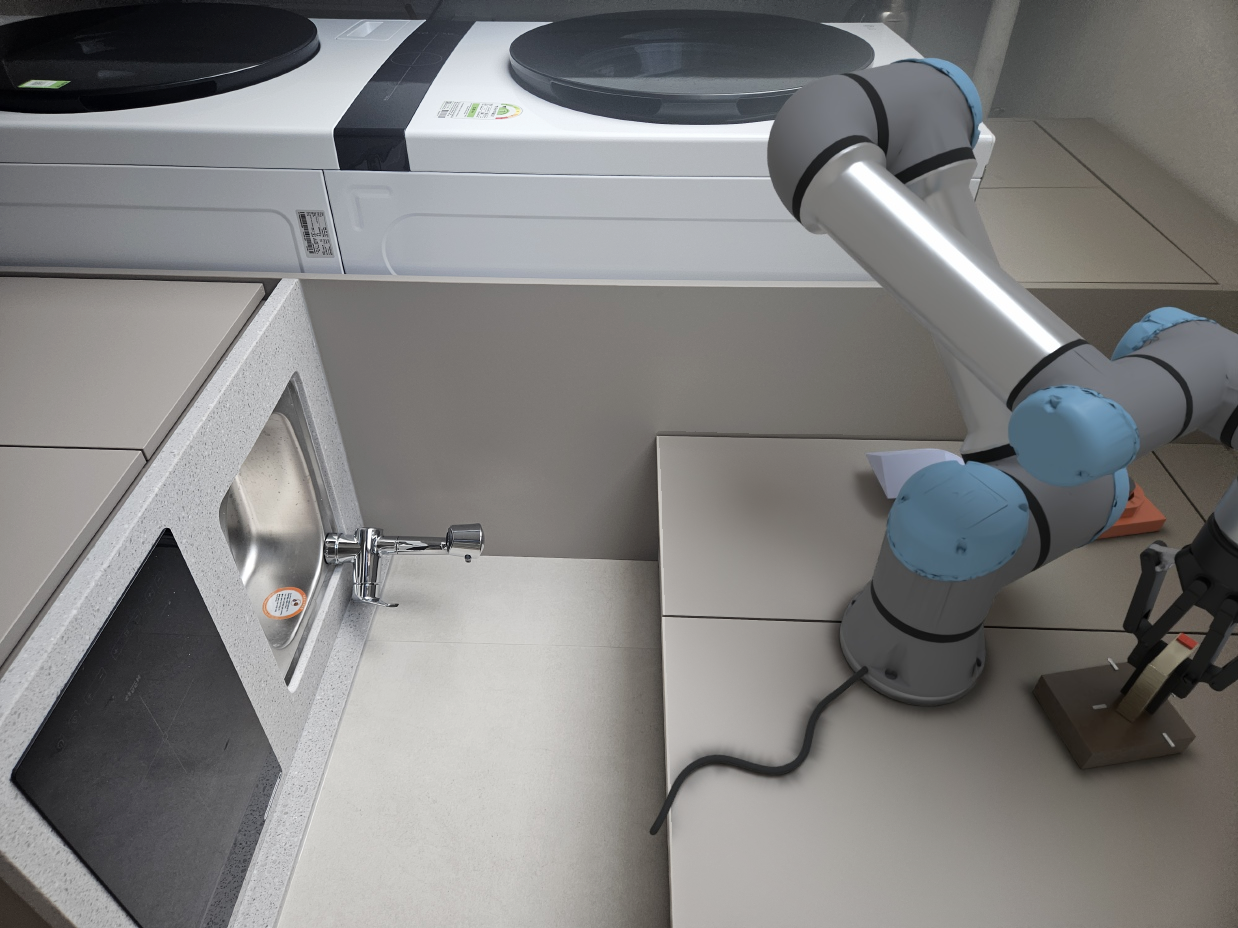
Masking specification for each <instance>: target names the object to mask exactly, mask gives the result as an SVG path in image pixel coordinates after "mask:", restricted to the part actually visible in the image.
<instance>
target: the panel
mask: <svg viewBox="0 0 1238 928" xmlns="http://www.w3.org/2000/svg"><path fill="white" fill-rule="evenodd" d="M1106 660H1107V662H1108V663H1109V664H1104V665H1098V666H1091V667H1090V666H1089V667H1084V668H1078V669H1071V670H1065V671H1058V672H1052V673H1044V674H1041V675H1040V676H1039V678H1038V680H1037V682H1036V683H1035V685H1034V687H1033V689H1032V693H1033V695H1034V697H1035V698H1036V699H1037V701H1038V703H1039V704H1040V706H1041V708H1042V709H1043V711H1044V713H1045V715H1046V716H1047V717H1048V719H1049V720H1050V722H1051V724H1052V725H1053V727H1054V728H1055V730H1056V732H1057V734H1058V735H1059V736H1060V738H1061V741H1063V743H1064V745H1065V746H1066V748H1067V749H1068V751H1069V752H1070V754H1071V756H1072V758H1073V759H1074V760H1075V762H1076V763H1077V765H1078V767H1079V768H1080V770H1086V769H1091V768H1093V769H1094V768H1097V767H1104V766H1110V765H1117V764H1121V763H1127V762H1134V761H1139V760H1145V759H1152V758H1157V757H1164V756H1169V755H1176V754H1181V753H1182V754H1183V753H1184V751H1185V750H1186V749H1188V747H1189V746H1190V745H1191V744H1192V743H1193V741H1194V740H1195V739H1196V738H1197V735H1196V734H1195V733H1194V731H1193V730H1192V729H1191V727H1190V726H1189V725H1188V724H1187V722H1186V721H1185V720H1184V718H1183V717H1182V716H1181V715H1180V713H1179V712H1178V710H1177V709H1176V708H1175V707H1174V705H1173V704H1172V703H1171V701H1170V700H1169V698H1168V699H1167V700H1166V701H1165V702H1164V703H1163V704H1162V706H1161V707H1160V708H1159V709H1158V710H1157V711H1156V712H1155V713H1154V714H1153V715H1151V714H1150V713H1149V712H1147V711H1146V710H1145V711H1144V712H1143V713H1142V714H1141V715H1140V716H1139V717H1138V718H1137V719H1136V720H1135V721H1134V722H1131V721H1129V720H1128V719H1127V718H1125V717H1124V716H1122V715H1121V714H1120V713H1118V712H1117V711H1116V708H1117V707H1118V705H1119V704H1120V703H1121V701H1122V700H1123V698H1124V697H1125V695H1124V694H1122V693H1121V692H1120V690H1121V689H1122V688H1123V686H1124V685H1125V683H1126V682H1127V681H1128V679H1129V678H1130V676H1131V675H1132V674H1133V672H1134V671H1135V669H1136V668H1135V667H1133V666H1132V665H1130V664H1129V663H1127V661H1123V662H1117V663H1115V662H1114V661H1113V659H1112V658H1111V657H1109V658H1108V657H1107V659H1106ZM1171 696H1172V697H1173V698H1178V697H1177V696H1175V695H1174V694H1173V693H1172V694H1171Z"/></svg>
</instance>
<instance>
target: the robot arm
mask: <svg viewBox="0 0 1238 928" xmlns="http://www.w3.org/2000/svg"><path fill="white" fill-rule="evenodd" d="M982 123H983V105H982V101H981V98H980V95H979V92H978V90H977V88H976V86H975V84H974V82H973V81H972V79H971V78H970V76H968V74H967V73H966V72H965V71H964V70H962V68H960V67H959V66H958V65H957V64H954V63H952V62H951V61H948V60H944V59H942V58H937V57H925V58H915V57H909V58H904V59H899V60H896V61H892V62H890V63H889V64H884V65H879V66H875V67H869V68H865V69H860V70H855V71H850V72H844V73H840V74H831V75H827V76H821V77H819V78H817V79H814V80H812V81H810V82H807V83H806V84H804V85H803V86H802V87H800V88H798V89H797V90H796V91H795V92H794V93H793V94H792V95H791V96H790V97H788V99H787V100H786V101H785V103H784V104H783V105H782V107H781V108H780V109H779V111H778V112H777V114H776V116H775V118H774V120H773V123H772V125H771V128H770V131H769V135H768V139H767V147H766V161H767V168H768V169H767V170H768V174H769V178H770V181H771V184H772V187H773V189H774V191H775V193H776V195H777V196H778V198H779V200H780V202H781V203H782V205H783V206H784V207H785V209H786V210H787V211H788V213H789V214H790V215H791V216H792V217H793V218H794V220H795V221H797V223H799V224H800V225H801V226H802V227H803V228H804V229H805V230H806V231H808V232H809V233H810V234H813V235H827V236H828V237H830V238H831V239H832V241H834V242H835V244H837V245H838V246H839V247H840V248H841V249H842V250H843V251H844V252H845V253H846V254H847V255H848V256H849V257H850V258H851V259H852V260H853V261H854V262H855V263H856V264H858V266H860V267H861V269H863V270H864V271H865V272H866V273H867V274H868V275H869V276H870V277H871V278H872V279H873V280H874V281H875V282H876V283H877V284H878V285H879V286H880V287H881V288H882V289H883V290H884V291H885V292H886V293H887V294H889V296H891V298H893V299H894V300H895V301H896V302H897V303H898V304H899V305H900V306H901V307H902V308H903V309H904V310H905V311H906V312H907V313H908V314H909V315H910V316H911V317H913V319H915V320H916V321H917V322H918V323H919V324H920V325H921V326H922V328H924V329H925V330H926V331H927V332H928V333H929V335H930V338H931V340H932V342H933V345H934V347H935V350H936V353H937V355H938V358H939V361H940V363H941V366H942V368H943V371H944V373H945V375H946V378H947V380H948V383H949V386H950V389H951V391H952V394H953V396H954V398H955V401H956V403H957V405H958V409H959V411H960V414H961V417H962V419H963V421H964V424H965V427H966V430H967V431H966V436H965V438H964V440H963V442H962V444H961V446H960V448H959V453H960V455H961V458H962V459H963V461H964V464H965V465H961V464H960V463H959V462H958V461H957V460H950V461H943V462H939V463H935V464H931V465H929V466H926V467H924V468H922V469H921V470H919V471H917V472H916V473H914V474H913V475H912V476H911V477H910V478H909V479H908V480H907V481H906V482H905V483H904V485H903V486H902V488H901V490H900V491H899V494H898V496H897V498H895V499H894V502H893V503H892V506H891V508H890V510H889V511H888V516H887V521H886V526H885V527H886V529H885V533H884V536H883V539H882V541H881V542H882V543H881V545H880V550H879V553H878V557H877V559H876V562H875V563H876V564H875V567H874V571H873V574H872V576H871V577H872V578H871V580H869V582H868V583H866V584H865V586H864V587H863V588H862V590H861V591H859V592H858V593H857V594H856V595H855V596H854V597H853V598H852V599H851V600H850V602H849V604H848V605H847V606H846V608H845V610H844V613H843V616H842V619H841V623H840V627H839V643H840V647H841V650H842V654H843V656H844V658H845V660H846V662H847V663H848V665H849V666H850V668H851V669H852V670H853V672H854V674H853V675H852V676H850V677H849V678H848V679H846V680H845V681H844V682H843V683H841V685H839V686H838V687H837V688H836V689H834V690H833V691H831V692H830V693H829V694H827V695H826V696H825V697H824V698H823V699H822V700H821V701H820V702H819V703H818V704H817V705H816V707H815V708H814V709H813V711H812V712H811V715H810V717H809V719H808V723H807V727H806V731H805V737H804V741H803V745H802V749H801V750H800V752H799V754H798V755H797V757H795V759H793V760H791V761H790V762H789V763H786V764H783V765H778V766H770V765H769V766H768V765H762V764H760V763H759V764H758V763H755V762H753V761H752V762H751V761H749V760H745V759H742V758H738V757H734V756H732V755H731V756H730V755H726V754H711V755H705V756H702V757H699V758H697V759H695V760H693V761H692V762H690V763H689V764H688V765H686V766H685V767H684V769H682V770H681V771H680V773H678V775H677V777H676V778H675V779H674V781H673V783H672V785H671V787H670V789H669V792H668V794H667V796H666V798H665V800H664V802H663V805H662V806H661V809H660V811H659V813H658V815H657V817H656V818H655V820H654V822H653V824H652V826H651V827H650V829H649V832H648V833H649V835H651V836H656V835H657V834H658V832H659V831H660V829H661V827H662V826H663V824H664V823H665V820H666V818H667V816H668V815H669V812H670V811H671V808H672V806H673V803H674V801H675V799H676V796H677V794H678V792H679V790H680V788H681V786H682V784H683V783H684V782H685V780H686V778H687V777H688V776H689V775H690V774H691V773H693V772H694V771H695V770H696V769H698V768H700V767H702V766H705V765H707V764H713V763H723V764H728V765H732V766H736V767H739V768H743V769H746V770H749V771H751V772H756V773H760V774H765V775H782V774H787V773H789V772H792V771H794V770H796V768H798V767H800V765H802V764H803V763H804V762H805V760H806V759H807V757H808V755H809V753H810V750H811V747H812V743H813V738H814V732H815V728H816V724H817V722H818V719H819V717H820V716H821V713H822V712H823V711H824V709H825V708H826V707H828V705H829V704H830V703H832V702H833V701H834V700H835V699H837V698H839V696H841V695H842V694H843V693H845V692H846V691H848V690H849V689H850V688H851V687H852V686H853V685H855V684H856V683H857V682H858V681H859V680H862V681H863V683H865V684H866V685H868V686H869V687H871V688H872V689H874V690H875V691H876V692H879V694H882V695H884V696H886V697H888V698H890V699H892V700H894V701H897V702H901V703H903V704H908V705H913V706H921V707H935V706H942V705H947V704H950V703H954V702H956V701H957V700H961V698H963V697H965V696H966V695H967V694H968V693H969V692H970V691H971V690H972V689H973V688H974V687H975V686H976V685H977V682H978V680H979V678H980V676H981V674H982V672H983V670H984V667H985V663H986V650H987V649H986V638H985V624H984V622H985V620H986V617H987V615H988V613H989V612H990V609H991V607H992V605H993V603H994V600H995V599H996V596H997V595H998V594H999V593H1000V592H1001V591H1002V590H1003V589H1004V588H1006V587H1008V586H1009V585H1010V584H1013V583H1014V582H1016V581H1018V580H1019V579H1021V578H1023V577H1025V576H1027V575H1029V574H1031V573H1032V572H1035V571H1037V570H1039V569H1041V568H1042V567H1044V566H1047V565H1048V564H1050V563H1051V562H1053V561H1055V560H1058V559H1059V558H1060V557H1063V556H1064V555H1066V554H1069V553H1071V552H1072V551H1074V550H1077V549H1080V548H1083V547H1085V546H1087V545H1089V544H1091V543H1093V542H1094V541H1096V540H1097V539H1096V538H1097V537H1099V536H1100V535H1101V534H1102V533H1103V532H1105V531H1106V530H1108V529H1109V528H1110V527H1112V526H1113V525H1114V524H1115V523H1116V522H1117V521H1118V519H1119V518H1120V516H1121V514H1122V513H1123V511H1124V510H1125V507H1126V505H1127V501H1128V497H1129V478H1128V476H1129V474H1128V469H1127V467H1128V466H1129V465H1131V464H1132V463H1133V462H1135V461H1137V460H1139V459H1141V458H1142V457H1144V456H1146V455H1149V454H1150V453H1151V452H1154V451H1155V450H1157V449H1160V448H1161V447H1163V446H1166V445H1168V444H1171V443H1173V442H1174V441H1176V440H1178V439H1180V438H1183V437H1184V436H1186V435H1188V434H1190V433H1193V432H1195V431H1197V430H1198V431H1200V432H1201V433H1203V434H1205V435H1207V436H1209V437H1211V438H1212V439H1214V440H1215V441H1218V442H1219V443H1222V445H1223V444H1224V445H1225V446H1227V447H1229V448H1230V449H1234V450H1236V451H1238V333H1236V332H1234V331H1232V330H1230V329H1228V328H1226V327H1224V326H1222V325H1220V323H1217V321H1215V320H1213V319H1208V318H1207V317H1201V316H1199V315H1195V314H1193V313H1190V312H1188V311H1185V310H1183V309H1180V308H1178V307H1173V306H1164V307H1159V308H1156V309H1154V310H1151V311H1150V312H1148V313H1146V314H1145V315H1144V316H1143V317H1142V318H1141V319H1140V321H1139V322H1136V323H1134V324H1132V325H1131V326H1130V328H1129V329H1128V330H1127V331H1126V332H1125V333H1124V335H1123V336H1122V337H1121V339H1120V341H1119V342H1118V343H1117V345H1116V347H1115V348H1114V351H1113V352H1112V355H1111V358H1110V359H1109V358H1108V357H1107V356H1105V354H1103V352H1101V351H1100V350H1098V349H1097V348H1096V347H1095V346H1094V345H1093V344H1091V343H1090V342H1089V341H1087V340H1086V339H1085V337H1083V336H1082V335H1080V333H1078V332H1077V331H1076V330H1075V329H1073V328H1072V327H1071V326H1070V325H1069V324H1067V322H1065V321H1064V320H1063V319H1062V318H1061V317H1059V316H1058V315H1057V314H1056V313H1055V312H1053V311H1052V310H1051V309H1050V308H1049V307H1047V305H1046V304H1044V303H1043V302H1042V301H1041V300H1039V299H1038V298H1037V297H1036V296H1035V295H1034V294H1032V293H1031V292H1030V291H1029V290H1028V289H1027V288H1026V287H1025V286H1023V285H1022V284H1021V283H1020V282H1018V281H1017V280H1016V279H1015V278H1014V277H1013V276H1012V275H1010V273H1009V272H1007V271H1006V270H1005V269H1004V268H1002V267H1001V265H1000V263H999V260H998V258H997V255H996V252H995V249H994V247H993V243H991V240H990V237H989V235H988V232H987V229H986V226H985V224H984V222H983V219H982V217H981V214H980V212H979V209H978V207H977V204H976V201H975V199H974V197H973V194H972V191H971V189H970V184H971V180H972V178H973V176H974V175H975V171H976V169H977V168H978V160H977V158H976V156H975V153H974V149H975V148H976V146H977V144H978V141H979V140H980V135H981V132H982V131H981V130H980V129H979V127H980V124H982ZM1139 561H1140V568H1141V569H1140V570H1141V573H1140V576H1139V579H1138V581H1137V584H1136V587H1135V589H1134V592H1133V595H1132V598H1131V601H1130V603H1129V606H1128V608H1127V611H1126V615H1125V617H1124V620H1123V622H1122V629H1123V630H1124V631H1125V632H1126V633H1128V634H1132V635H1134V636H1135V638H1136V640H1137V643H1136V644H1135V646H1134V648H1133V649H1132V651H1130V654H1128V657H1127V661H1126V662H1127V663H1129V664H1130V665H1132V666H1133V667H1135V668H1136V669H1135V671H1134V672H1133V674H1132V675H1131V676H1130V678H1129V679H1128V681H1127V682H1126V683H1125V685H1124V686H1123V688H1122V689H1121V690H1120V692H1121V693H1122V694H1124V695H1125V696H1126V694H1127V693H1128V691H1129V690H1130V689H1131V687H1132V686H1133V684H1134V683H1135V682H1136V680H1137V679H1138V678H1139V676H1140V675H1141V673H1142V672H1143V671H1144V669H1145V668H1146V666H1147V665H1148V664H1149V663H1150V662H1151V661H1152V660H1153V659H1154V658H1155V657H1156V656H1157V655H1158V654H1159V653H1160V652H1161V651H1162V650H1163V649H1164V648H1165V647H1166V646H1167V645H1168V644H1169V643H1167V642H1166V641H1165V640H1163V638H1164V637H1165V636H1166V635H1167V634H1168V633H1169V632H1170V631H1171V630H1172V629H1173V628H1174V627H1175V626H1176V624H1178V623H1179V622H1180V621H1181V620H1182V619H1183V618H1184V616H1185V615H1186V614H1187V613H1188V612H1189V611H1190V610H1191V609H1192V608H1193V607H1194V606H1195V607H1197V608H1199V609H1202V610H1205V612H1207V613H1208V614H1209V615H1210V616H1211V617H1213V619H1212V621H1211V622H1210V624H1209V627H1208V628H1209V629H1208V630H1207V632H1206V634H1205V636H1204V638H1203V639H1202V641H1201V643H1200V644H1199V646H1198V647H1197V649H1196V651H1195V654H1194V655H1193V658H1191V657H1190V658H1189V657H1188V658H1187V659H1186V660H1185V661H1184V662H1183V663H1182V664H1181V665H1180V666H1179V667H1178V668H1177V669H1176V670H1175V671H1174V672H1173V673H1172V675H1171V676H1170V677H1169V679H1168V680H1167V681H1166V682H1165V684H1164V685H1163V686H1162V688H1161V689H1160V690H1159V692H1158V693H1157V694H1156V696H1155V697H1154V698H1153V699H1152V701H1151V702H1150V703H1149V705H1148V706H1147V707H1146V709H1145V710H1146V711H1147V712H1149V713H1150V714H1151V715H1153V714H1154V713H1155V712H1156V711H1157V710H1158V709H1159V708H1160V707H1161V706H1162V704H1163V703H1164V702H1165V701H1166V700H1167V699H1168V700H1169V698H1170V696H1172V693H1173V694H1174V695H1175V696H1177V697H1176V698H1178V699H1180V700H1183V699H1186V698H1187V697H1188V696H1189V695H1190V694H1191V693H1192V692H1193V691H1194V689H1195V688H1196V687H1197V686H1198V684H1199V683H1204V684H1207V685H1208V686H1209V688H1210V689H1211V690H1212V691H1215V692H1223V691H1224V690H1225V689H1228V687H1230V686H1232V685H1233V684H1234V683H1236V682H1237V681H1238V655H1236V656H1235V657H1233V658H1232V659H1231V660H1229V661H1228V662H1227V663H1226V664H1224V665H1223V666H1222V667H1221V666H1218V665H1215V663H1216V661H1217V659H1218V657H1219V656H1220V655H1221V652H1222V650H1223V649H1224V647H1225V645H1226V644H1227V642H1228V640H1229V639H1230V637H1231V635H1232V633H1233V632H1234V630H1235V628H1236V627H1237V625H1238V473H1237V474H1236V476H1235V477H1234V478H1233V480H1232V481H1231V483H1230V484H1229V486H1228V487H1227V489H1226V491H1225V492H1224V493H1223V495H1222V497H1221V498H1220V499H1219V501H1218V503H1217V504H1216V505H1215V507H1214V511H1213V512H1211V513H1210V515H1209V516H1208V517H1207V519H1206V521H1205V522H1204V524H1203V525H1202V526H1201V528H1200V530H1199V532H1198V533H1197V534H1196V535H1195V537H1194V538H1193V540H1192V541H1191V543H1188V544H1186V545H1184V546H1182V547H1181V549H1179V548H1173V547H1169V546H1168V545H1167V543H1166V542H1165V541H1163V540H1161V539H1156V540H1154V541H1153V542H1152V543H1151V544H1150V545H1148V546H1147V547H1146V548H1145V549H1144V550H1142V551H1141V552H1140V554H1139ZM1174 565H1175V569H1176V573H1177V577H1178V580H1179V584H1180V589H1181V591H1182V593H1180V595H1179V596H1178V597H1177V598H1176V599H1175V600H1174V601H1173V603H1172V604H1171V605H1170V606H1169V607H1168V608H1167V609H1166V610H1165V611H1164V612H1163V613H1162V614H1161V615H1160V617H1158V619H1157V620H1156V621H1155V622H1154V623H1153V624H1152V623H1151V622H1150V621H1149V620H1150V617H1151V615H1152V611H1153V610H1154V607H1155V605H1156V602H1157V599H1158V596H1159V593H1160V591H1161V589H1162V585H1163V583H1164V581H1165V578H1166V575H1167V573H1168V571H1169V570H1170V569H1171V568H1172V567H1173V566H1174Z"/></svg>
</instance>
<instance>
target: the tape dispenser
mask: <svg viewBox="0 0 1238 928" xmlns="http://www.w3.org/2000/svg"><path fill="white" fill-rule="evenodd" d="M864 454H865V455H864V456H866V458H867V460H868V463H869V464H870V467H871V468H872V471H873V472H874V474H875V477H876V479H877V480H878V482H879V484H880V487H881V488H882V490H883V492H884V494H885V496H886V498H887V499H896V498H897V496H898V494H899V491H900V490H901V488H902V486H903V485H904V483H905V482H906V481H907V480H908V479H909V478H910V477H911V476H912V475H913V474H914V473H916V472H917V471H919V470H921V469H922V468H924V467H926V466H929V465H931V464H935V463H939V462H943V461H950V460H957V461H958V462H959V463H960V464H961V465H965V464H964V461H963V458H962V457H960V456H959V455H957V454H955V453H953V452H951V451H947V450H944V449H940V448H932V447H931V448H930V447H929V448H928V447H927V448H915V449H913V448H912V449H902V450H889V451H887V450H886V451H877V452H864Z"/></svg>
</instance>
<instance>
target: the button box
mask: <svg viewBox="0 0 1238 928" xmlns="http://www.w3.org/2000/svg"><path fill="white" fill-rule="evenodd" d="M1134 482H1135V484H1136V488H1135V490H1134V492H1133V493H1132V495H1131V497H1130V499H1128V501H1127V505H1126V507H1125V510H1124V511H1123V513H1122V514H1121V516H1120V518H1119V519H1118V521H1117V522H1116V523H1115V524H1114V525H1113V526H1112V527H1110V528H1109V529H1108V530H1106V531H1105V532H1103V533H1102V534H1101V535H1100V536H1099V537H1097V538H1096V539H1095V540H1101V539H1109V538H1115V537H1123V536H1130V535H1137V534H1144V533H1152V532H1159V531H1161V529H1162V528H1163V526H1164V524H1165V523H1166V521H1167V517H1166V515H1164V514H1163V513H1162V512H1161V511H1160V510H1159V509H1158V507H1156V506H1155V505H1154V503H1153V502H1152V501H1151V500H1150V499H1149V498H1148V497H1147V496H1146V495H1145V492H1144V490H1143V488H1142V487H1141V486H1140V485H1139V484H1138V483H1137V482H1136V481H1135V480H1134Z"/></svg>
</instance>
